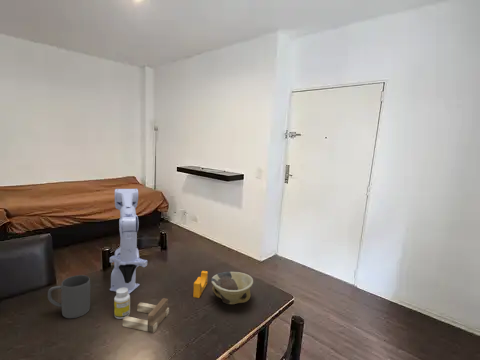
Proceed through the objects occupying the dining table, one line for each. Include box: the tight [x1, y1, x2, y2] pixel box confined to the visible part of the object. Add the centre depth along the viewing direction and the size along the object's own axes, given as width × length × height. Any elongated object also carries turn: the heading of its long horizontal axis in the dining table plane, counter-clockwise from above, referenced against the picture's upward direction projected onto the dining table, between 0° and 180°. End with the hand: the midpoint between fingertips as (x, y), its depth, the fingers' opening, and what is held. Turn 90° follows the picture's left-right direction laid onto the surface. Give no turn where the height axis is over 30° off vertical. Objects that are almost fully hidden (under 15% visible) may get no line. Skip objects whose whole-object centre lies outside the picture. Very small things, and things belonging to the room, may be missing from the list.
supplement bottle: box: [113, 287, 131, 320], centre depth 101 cm, size 5×5×10 cm
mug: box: [47, 274, 91, 319], centre depth 100 cm, size 14×9×12 cm
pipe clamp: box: [192, 270, 209, 299], centre depth 121 cm, size 12×4×6 cm, turn 170°
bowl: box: [210, 271, 254, 305], centre depth 115 cm, size 18×18×10 cm
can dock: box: [122, 297, 170, 334], centre depth 99 cm, size 12×11×6 cm
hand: (128, 281), depth 105 cm, fingers closed
